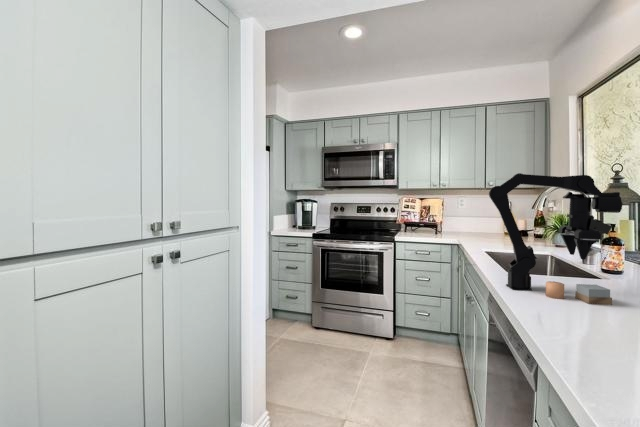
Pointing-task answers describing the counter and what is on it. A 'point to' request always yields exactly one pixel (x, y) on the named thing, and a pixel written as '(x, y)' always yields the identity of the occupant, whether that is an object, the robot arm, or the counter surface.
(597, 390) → the counter surface
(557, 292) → the tan rounded lump
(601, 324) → the counter surface
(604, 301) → the base slab
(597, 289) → the top slab
